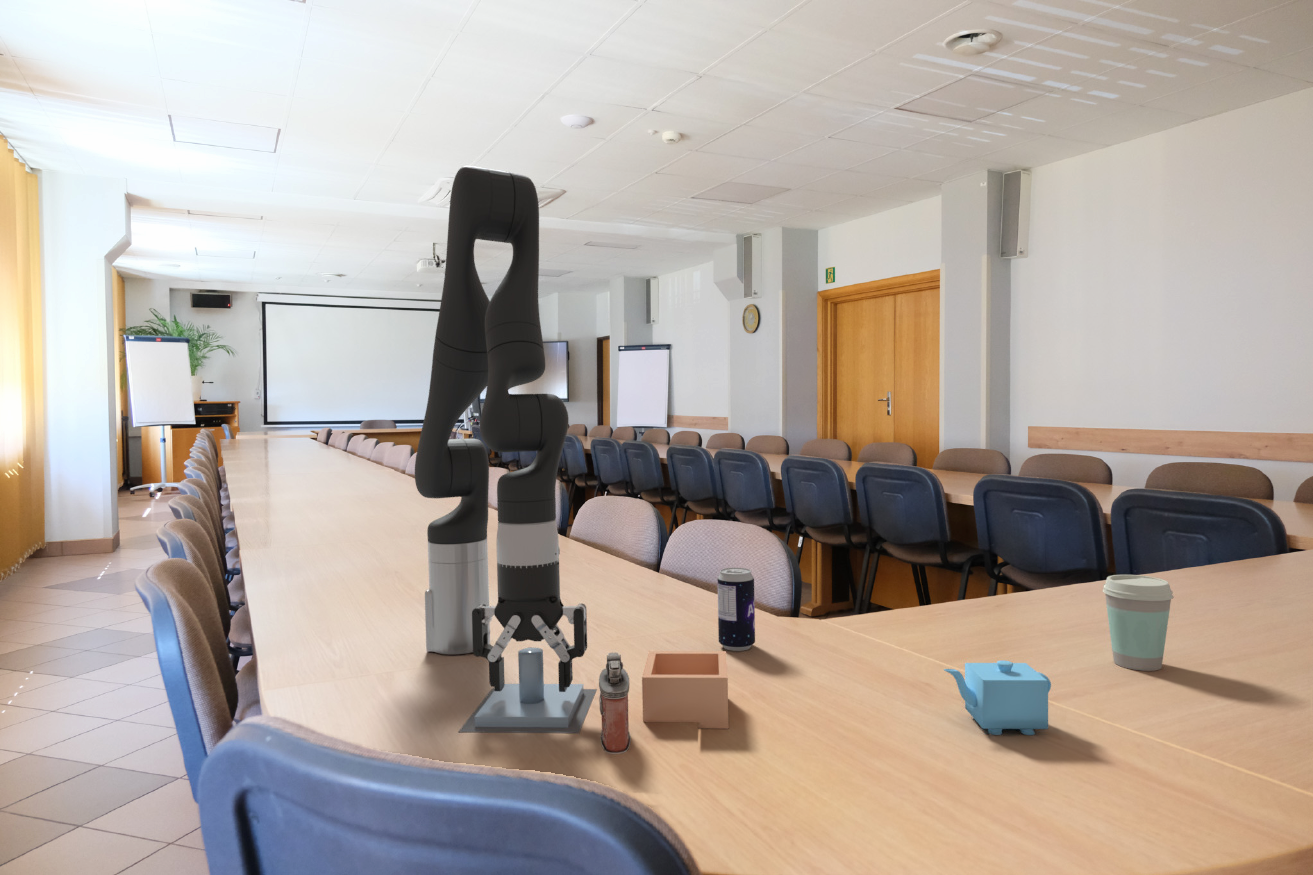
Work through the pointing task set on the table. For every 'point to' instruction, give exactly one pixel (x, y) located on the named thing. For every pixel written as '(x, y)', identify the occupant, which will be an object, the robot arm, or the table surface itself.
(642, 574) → the table surface
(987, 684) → the teapot
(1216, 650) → the table surface
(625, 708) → the lighter
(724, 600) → the beverage can
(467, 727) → the mat
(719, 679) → the tan open box
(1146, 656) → the coffee cup
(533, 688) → the lid
